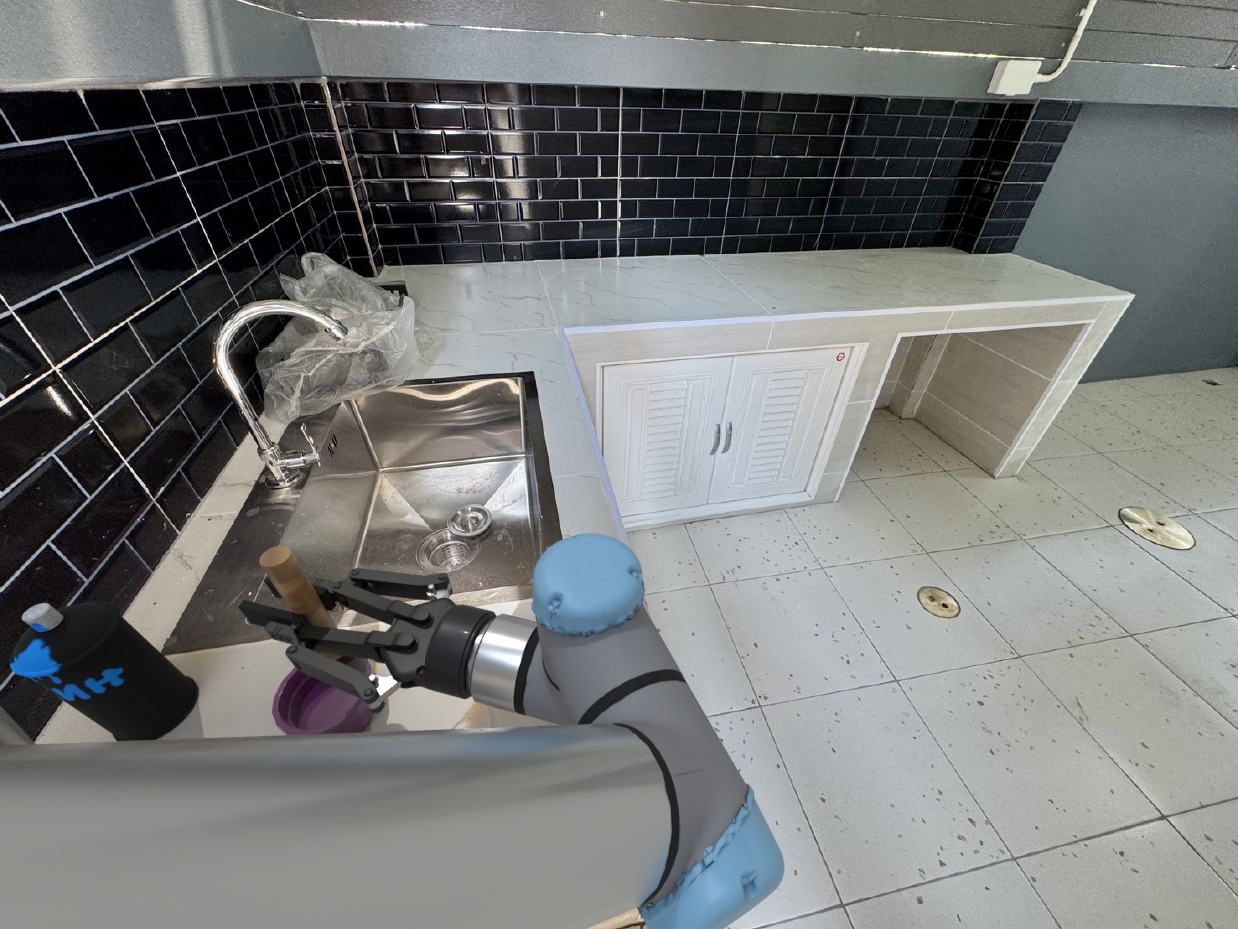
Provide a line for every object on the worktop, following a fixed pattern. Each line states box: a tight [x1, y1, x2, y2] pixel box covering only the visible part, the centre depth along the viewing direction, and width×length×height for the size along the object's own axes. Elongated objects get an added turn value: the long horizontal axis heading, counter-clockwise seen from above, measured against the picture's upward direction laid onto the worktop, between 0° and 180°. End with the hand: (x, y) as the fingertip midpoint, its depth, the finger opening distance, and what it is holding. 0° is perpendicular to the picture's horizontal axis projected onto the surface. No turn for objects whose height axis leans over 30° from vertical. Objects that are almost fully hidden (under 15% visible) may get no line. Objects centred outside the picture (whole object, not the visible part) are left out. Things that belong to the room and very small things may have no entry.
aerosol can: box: [9, 600, 199, 741], centre depth 53 cm, size 8×8×20 cm
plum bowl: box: [271, 660, 377, 735], centre depth 59 cm, size 10×10×4 cm
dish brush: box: [258, 545, 369, 687], centre depth 48 cm, size 5×5×18 cm
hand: (260, 598), depth 49 cm, fingers closed on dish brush, 2 cm apart
